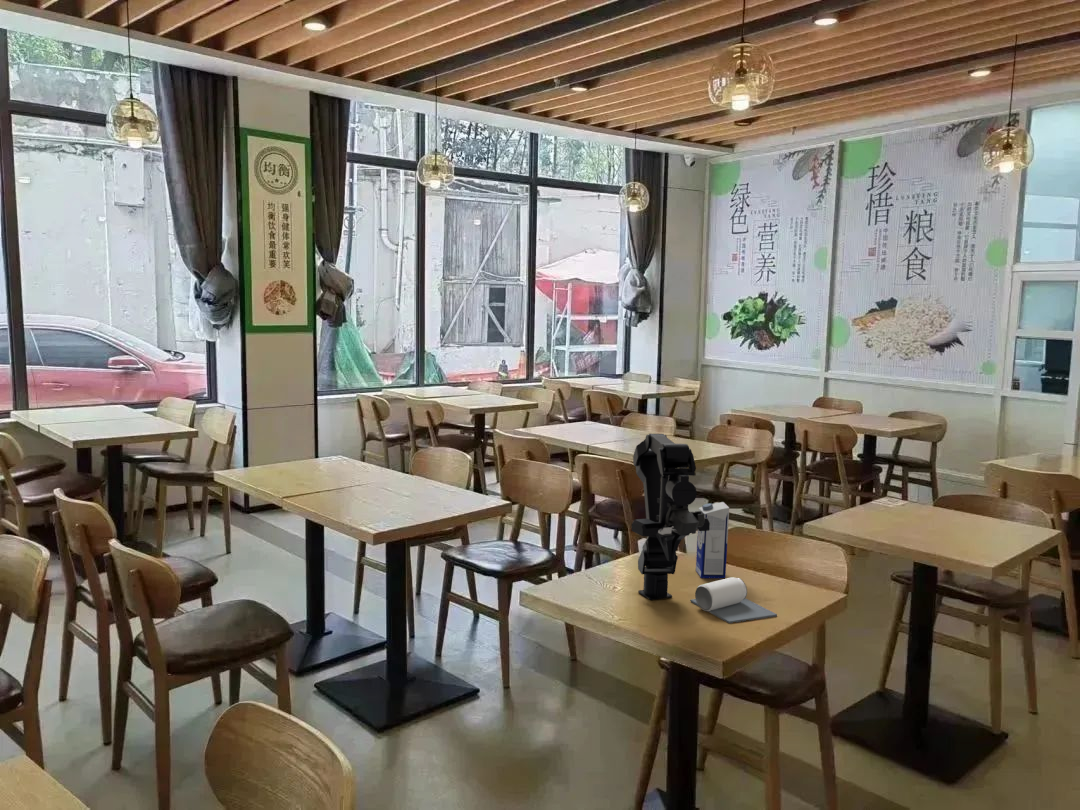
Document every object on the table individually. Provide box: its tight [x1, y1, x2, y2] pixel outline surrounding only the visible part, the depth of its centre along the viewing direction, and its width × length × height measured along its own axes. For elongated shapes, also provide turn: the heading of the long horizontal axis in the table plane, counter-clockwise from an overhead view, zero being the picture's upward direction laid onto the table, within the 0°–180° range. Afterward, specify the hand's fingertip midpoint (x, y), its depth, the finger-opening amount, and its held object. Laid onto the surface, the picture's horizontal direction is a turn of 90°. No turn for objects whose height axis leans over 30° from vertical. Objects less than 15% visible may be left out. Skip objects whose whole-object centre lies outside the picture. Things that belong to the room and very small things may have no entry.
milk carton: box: [695, 501, 730, 579], centre depth 239 cm, size 7×7×20 cm
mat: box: [689, 597, 778, 624], centre depth 213 cm, size 16×14×1 cm
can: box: [694, 576, 748, 612], centre depth 213 cm, size 6×6×12 cm
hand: (669, 560), depth 207 cm, fingers closed
